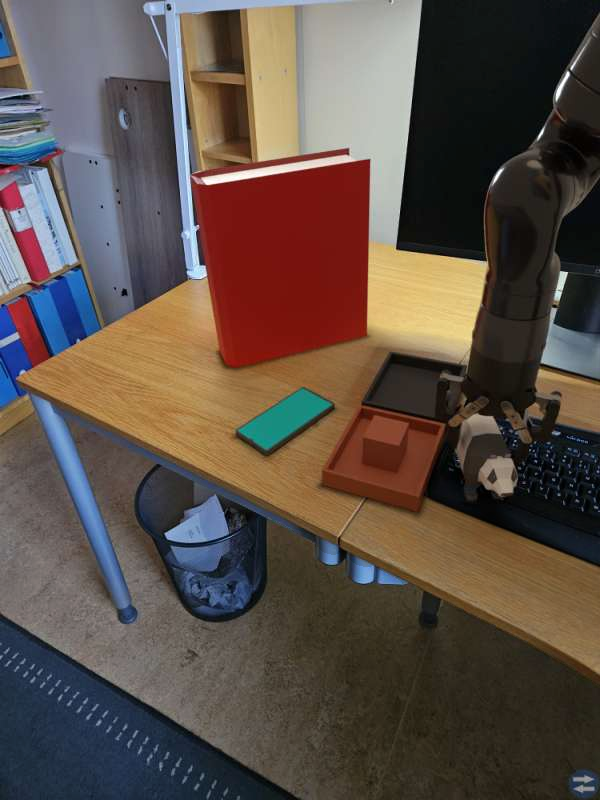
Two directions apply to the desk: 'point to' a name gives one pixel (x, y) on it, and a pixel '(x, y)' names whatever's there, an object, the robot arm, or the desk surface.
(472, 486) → the giant panda
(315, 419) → the smartphone
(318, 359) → the desk surface
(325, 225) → the book
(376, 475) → the terracotta tray
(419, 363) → the charcoal tray
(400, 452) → the terracotta block
